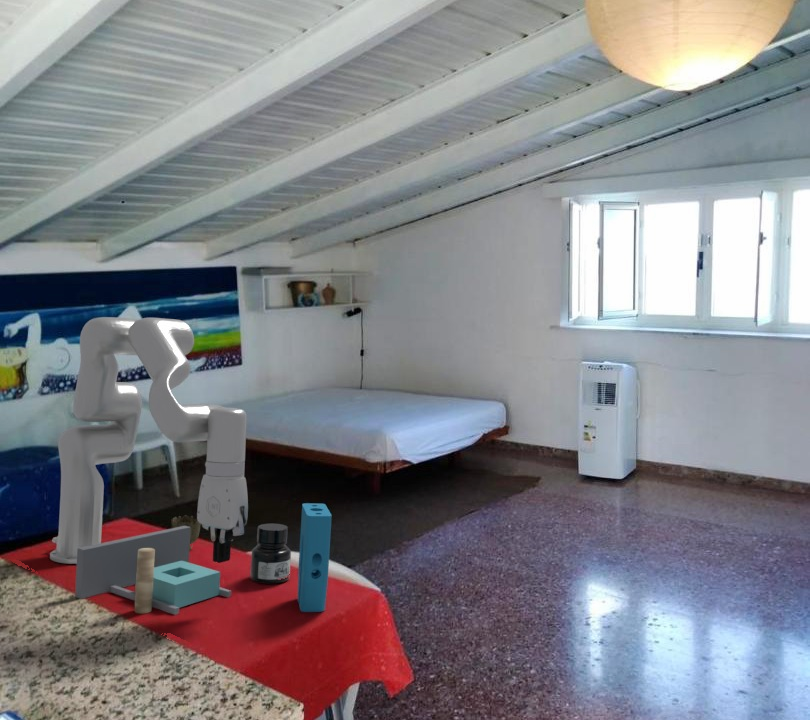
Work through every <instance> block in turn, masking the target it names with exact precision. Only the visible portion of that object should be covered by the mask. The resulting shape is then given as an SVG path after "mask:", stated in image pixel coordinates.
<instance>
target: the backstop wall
mask: <svg viewBox="0 0 810 720" xmlns="http://www.w3.org/2000/svg"><path fill="white" fill-rule="evenodd" d="M190 532H191V527H188V526H181V527H176V528H172V527H171V528H168V529H167V528H166V529H163V530H159V531H157V530H156V531H153V532H148V533H143V534H140V535H139V534H138V535H134V536H129V537H124V538H120V539H115V540H110V541H105V542H101V543H100V544H95V545H90V546H85V547H81V548H78V550H77V564H76V570H75V573H76V574H75V591H74V597H75V598H77V599H80V600H83V599H86V598H90V597H94V596H97V595H102V594H105V593H108V592H109V593H112V594H115V595H118V596H120V597H124V598H126V599H129V600H132V601H134V602H135V594H136V592H135V591H132V590H130V589H126V587H130V586H133V585H135V584H136V572H137V557H138V550H139V549H142V548H153V549H155V559H154V568H155V567H159V566H162V565H166V564H170V563H174V562H178V561H185V562H188V563H190V551H191V549H190ZM218 596H223V597H225V598H230V597H231V596H232V590H231V589H230V590H229V589H227V588H224V587H221V586H220V587H219V595H218ZM152 608H154V609H157V610H160V611H163V612H166V613H168V614H172V615H179V613H180V608H179V607H176V606H173V605H171V604H168V603H165V602H162V601H159V600H156V599H153V598H152Z"/></svg>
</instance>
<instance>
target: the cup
mask: <svg viewBox="0 0 810 720" xmlns="http://www.w3.org/2000/svg"><path fill="white" fill-rule="evenodd" d="M172 517H173V516H172ZM170 522H171V528H176V527H181V526H188V527H191V532H190V544H192V546H191V547H190V550H192V549H193V544H194V543H196V541H197V540H198V538H199V534H200V530H201V526H202V524H200V523H199V522H198V520H197V517H196V518H194V516H193V515H190V516H189V515H187V514H185V515H183V516H180V515H179V516H178V517H177V516H174V517H173V518H171V521H170Z"/></svg>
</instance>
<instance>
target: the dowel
mask: <svg viewBox="0 0 810 720" xmlns="http://www.w3.org/2000/svg"><path fill="white" fill-rule="evenodd" d="M154 559H155V549H153V548H142V549H139V550H138V557H137V575H136V594H135V601H134V612H135V613H136V614H149V613H151V612H152V610H153V609H152V608H153V607H152V595H153V577H154Z"/></svg>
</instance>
